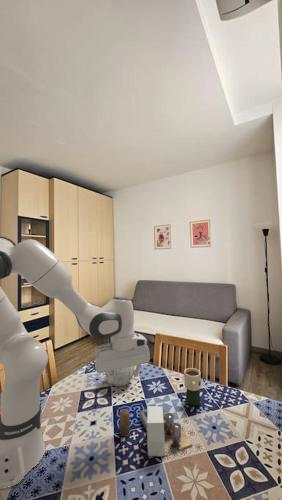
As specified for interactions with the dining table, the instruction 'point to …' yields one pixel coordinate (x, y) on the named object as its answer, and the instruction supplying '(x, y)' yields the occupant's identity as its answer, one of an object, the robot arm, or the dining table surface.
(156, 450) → the small box
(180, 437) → the dogs
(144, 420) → the grey partly piece
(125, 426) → the dowel
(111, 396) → the dining table surface
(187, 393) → the character mug
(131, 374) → the puzzle ball
